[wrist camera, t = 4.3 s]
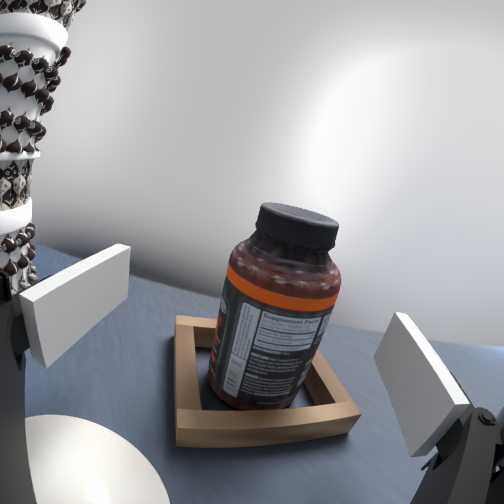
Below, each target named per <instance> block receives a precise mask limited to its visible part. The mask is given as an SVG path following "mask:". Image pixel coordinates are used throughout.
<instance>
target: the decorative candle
mask: <svg viewBox="0 0 504 504" xmlns="http://www.w3.org/2000/svg"><path fill="white" fill-rule="evenodd" d="M85 4H86V0H0V270H1V271H5V272H7V273H8V274H9V278H10V286H11V293H12V295H14V294H16V293H18V292H19V291H21V290H23V289H25V288H27V287H29V286H30V285H34V283H36V282H37V276H36V275H35V274H36V272H37V270H36V268H35V267H34V266H33V265H32V262H31V260H32V259H34V257H35V252H34V251H35V246H34V245H33V244H32V243H30V241H29V240H30V239H32V238H33V237H34V235H35V231H34V230H35V226H34V224H33V223H31V222H30V221H31V218H32V200H31V198H30V195H29V188H30V185H31V179H32V176H31V167H32V163H33V160H34V159H35V158H40V151H39V150H38V149H37V148H36V147H35V145H34V144H35V143H36V142H38V141H39V140H41V139H42V138H43V136H44V135H45V133H46V129H45V127H43V126H42V125H41V123H40V122H39V121H38V120H39V116H41V115H43V114H44V113H46V112H48V111H50V110H51V107H52V105H53V103H54V100H53V98H52V97H51V96H50V93H52V92H53V91H55V89H56V87H57V86H58V85H59V83H60V81H61V79H60V77H59V76H58V70H57V69H58V67H60V66H63V65H64V64H65V63H66V62H67V58H69V57H70V55H71V51H70V49H69V48H68V47H64V45H65V43H66V40H67V38H68V35H67V30H68V28H69V26H70V24H71V22H72V21H73V18H74V16H75V13H76V12H78V11H79V10H80V9H81V8H82V7H83V6H84V5H85ZM59 55H60V58H59V60H58V61H57V62H56V61H55V59H57V58H58V57H59ZM48 81H50V83H49V84H48ZM47 84H48V85H47ZM42 103H43V106H42Z"/></svg>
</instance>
